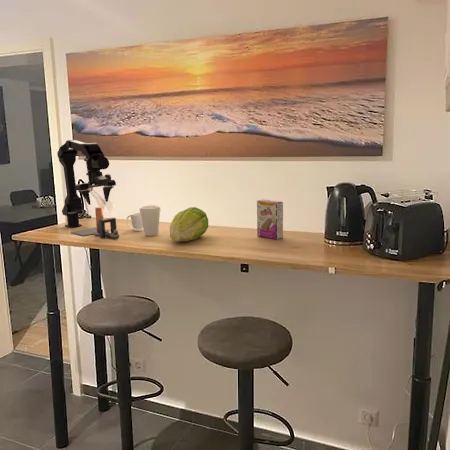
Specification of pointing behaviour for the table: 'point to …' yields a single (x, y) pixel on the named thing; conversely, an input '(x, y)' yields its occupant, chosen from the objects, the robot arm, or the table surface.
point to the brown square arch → (102, 226)
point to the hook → (98, 217)
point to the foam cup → (150, 219)
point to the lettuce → (188, 225)
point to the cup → (136, 221)
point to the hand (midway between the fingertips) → (98, 203)
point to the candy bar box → (270, 219)
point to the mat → (86, 231)
